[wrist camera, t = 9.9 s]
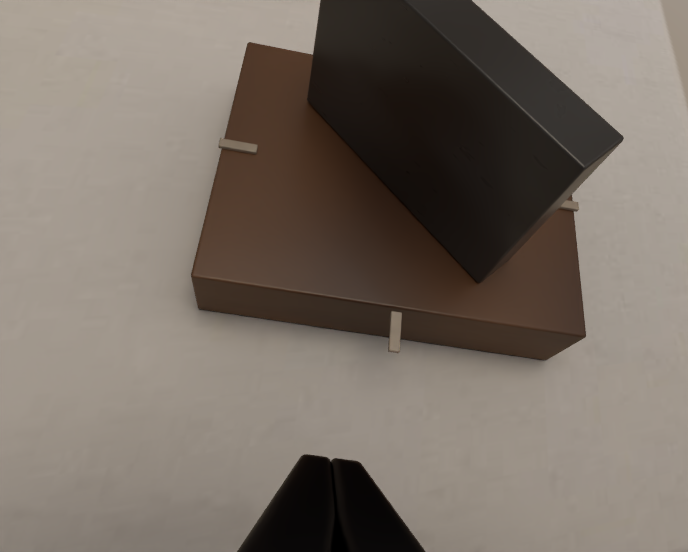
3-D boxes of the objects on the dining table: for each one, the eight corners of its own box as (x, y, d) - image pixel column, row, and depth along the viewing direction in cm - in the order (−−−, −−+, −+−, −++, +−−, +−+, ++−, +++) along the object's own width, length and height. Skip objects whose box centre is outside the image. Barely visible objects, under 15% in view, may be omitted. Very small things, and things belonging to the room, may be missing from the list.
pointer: (510, 258, 20) (632, 131, 14) (478, 284, 20) (590, 163, 13) (340, 82, 23) (376, -97, 16) (305, 100, 22) (330, -80, 16)
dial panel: (532, 121, 28) (564, 74, 25) (551, 400, 22) (596, 380, 19) (251, 66, 26) (251, 10, 24) (185, 349, 20) (175, 319, 17)
